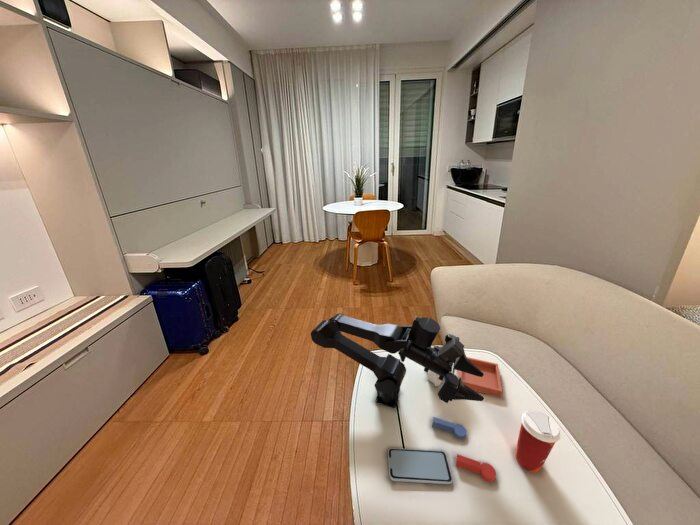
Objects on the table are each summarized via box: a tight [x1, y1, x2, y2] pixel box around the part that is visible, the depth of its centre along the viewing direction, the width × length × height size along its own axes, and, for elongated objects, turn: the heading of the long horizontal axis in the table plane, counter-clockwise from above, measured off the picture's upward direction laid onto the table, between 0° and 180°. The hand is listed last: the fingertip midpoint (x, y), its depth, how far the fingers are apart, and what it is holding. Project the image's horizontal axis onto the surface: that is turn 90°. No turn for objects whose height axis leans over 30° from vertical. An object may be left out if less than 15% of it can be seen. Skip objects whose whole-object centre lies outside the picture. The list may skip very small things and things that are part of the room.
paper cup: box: [514, 409, 561, 473], centre depth 65 cm, size 8×8×14 cm
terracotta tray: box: [458, 356, 503, 398], centre depth 92 cm, size 13×13×3 cm
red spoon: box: [455, 453, 497, 483], centre depth 65 cm, size 9×4×2 cm, turn 68°
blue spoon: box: [431, 416, 468, 440], centre depth 75 cm, size 9×4×2 cm, turn 68°
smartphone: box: [387, 447, 453, 485], centre depth 67 cm, size 7×1×15 cm
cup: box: [426, 344, 457, 387], centre depth 91 cm, size 10×10×10 cm
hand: (483, 386), depth 68 cm, fingers open, 9 cm apart
